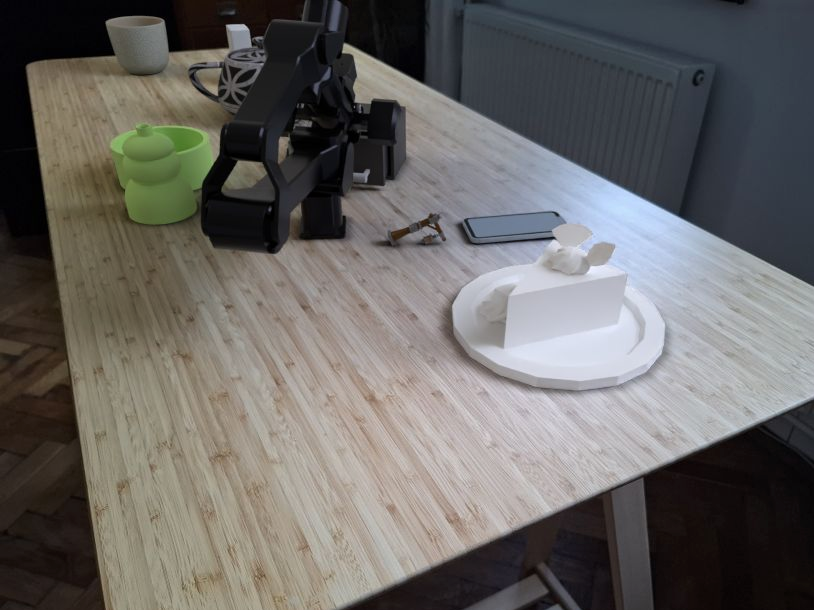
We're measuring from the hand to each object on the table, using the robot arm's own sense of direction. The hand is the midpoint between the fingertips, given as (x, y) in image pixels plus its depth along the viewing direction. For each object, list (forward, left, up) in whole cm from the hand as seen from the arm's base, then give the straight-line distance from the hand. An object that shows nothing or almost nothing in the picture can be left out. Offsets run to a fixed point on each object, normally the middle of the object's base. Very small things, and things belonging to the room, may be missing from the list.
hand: (347, 144), depth 107 cm
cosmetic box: (+63, +24, -7) cm, 67 cm away
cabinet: (+10, -3, -7) cm, 13 cm away
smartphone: (-16, -24, -7) cm, 30 cm away
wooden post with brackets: (-19, -9, -7) cm, 23 cm away
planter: (+73, +48, -7) cm, 87 cm away
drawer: (+3, -1, -6) cm, 7 cm away
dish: (-41, -24, -7) cm, 49 cm away
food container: (+1, +29, -7) cm, 30 cm away
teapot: (+38, +15, -7) cm, 41 cm away
